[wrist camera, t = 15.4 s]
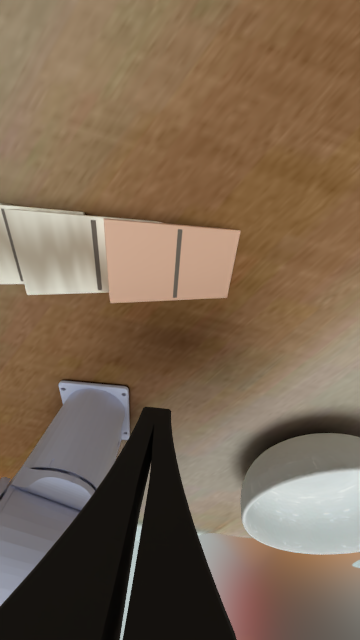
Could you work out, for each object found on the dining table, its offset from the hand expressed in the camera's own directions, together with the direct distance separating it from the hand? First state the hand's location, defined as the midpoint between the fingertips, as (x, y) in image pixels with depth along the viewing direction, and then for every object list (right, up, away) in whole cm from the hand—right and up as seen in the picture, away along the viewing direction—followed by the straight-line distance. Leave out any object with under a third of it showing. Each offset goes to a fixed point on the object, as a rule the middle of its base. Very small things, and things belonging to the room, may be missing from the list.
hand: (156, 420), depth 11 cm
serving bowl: (+19, -14, +19) cm, 30 cm away
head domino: (+5, +10, +6) cm, 12 cm away
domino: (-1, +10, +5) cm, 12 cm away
